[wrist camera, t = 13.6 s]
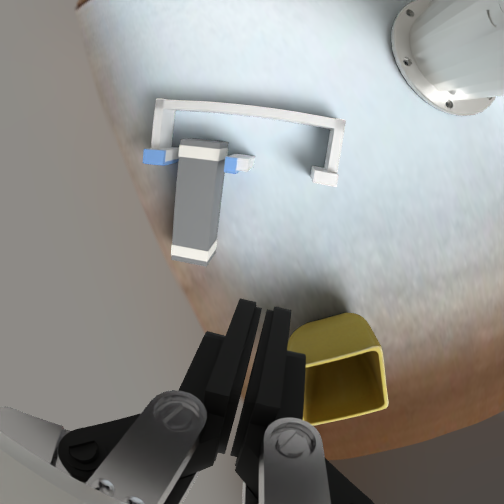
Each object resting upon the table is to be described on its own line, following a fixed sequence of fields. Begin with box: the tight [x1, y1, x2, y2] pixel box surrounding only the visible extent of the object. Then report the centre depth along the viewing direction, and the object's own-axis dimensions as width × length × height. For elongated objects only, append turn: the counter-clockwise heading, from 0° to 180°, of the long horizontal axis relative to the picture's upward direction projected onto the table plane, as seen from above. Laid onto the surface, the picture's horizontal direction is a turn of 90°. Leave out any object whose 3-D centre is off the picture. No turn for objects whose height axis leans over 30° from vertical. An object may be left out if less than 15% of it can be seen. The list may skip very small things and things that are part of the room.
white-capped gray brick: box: [171, 138, 229, 266], centre depth 28 cm, size 11×4×4 cm, turn 172°
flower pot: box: [287, 313, 388, 426], centre depth 29 cm, size 9×9×9 cm
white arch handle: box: [143, 99, 346, 187], centre depth 25 cm, size 6×16×4 cm, turn 82°
